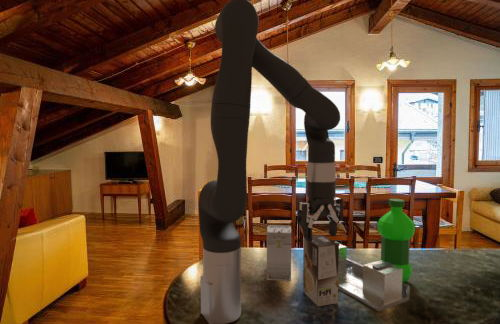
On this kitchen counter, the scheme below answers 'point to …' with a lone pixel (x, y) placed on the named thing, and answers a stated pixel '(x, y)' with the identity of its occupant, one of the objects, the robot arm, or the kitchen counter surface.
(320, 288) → the coffee box
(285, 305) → the kitchen counter surface
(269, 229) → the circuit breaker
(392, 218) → the plastic bottle
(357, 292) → the plate
